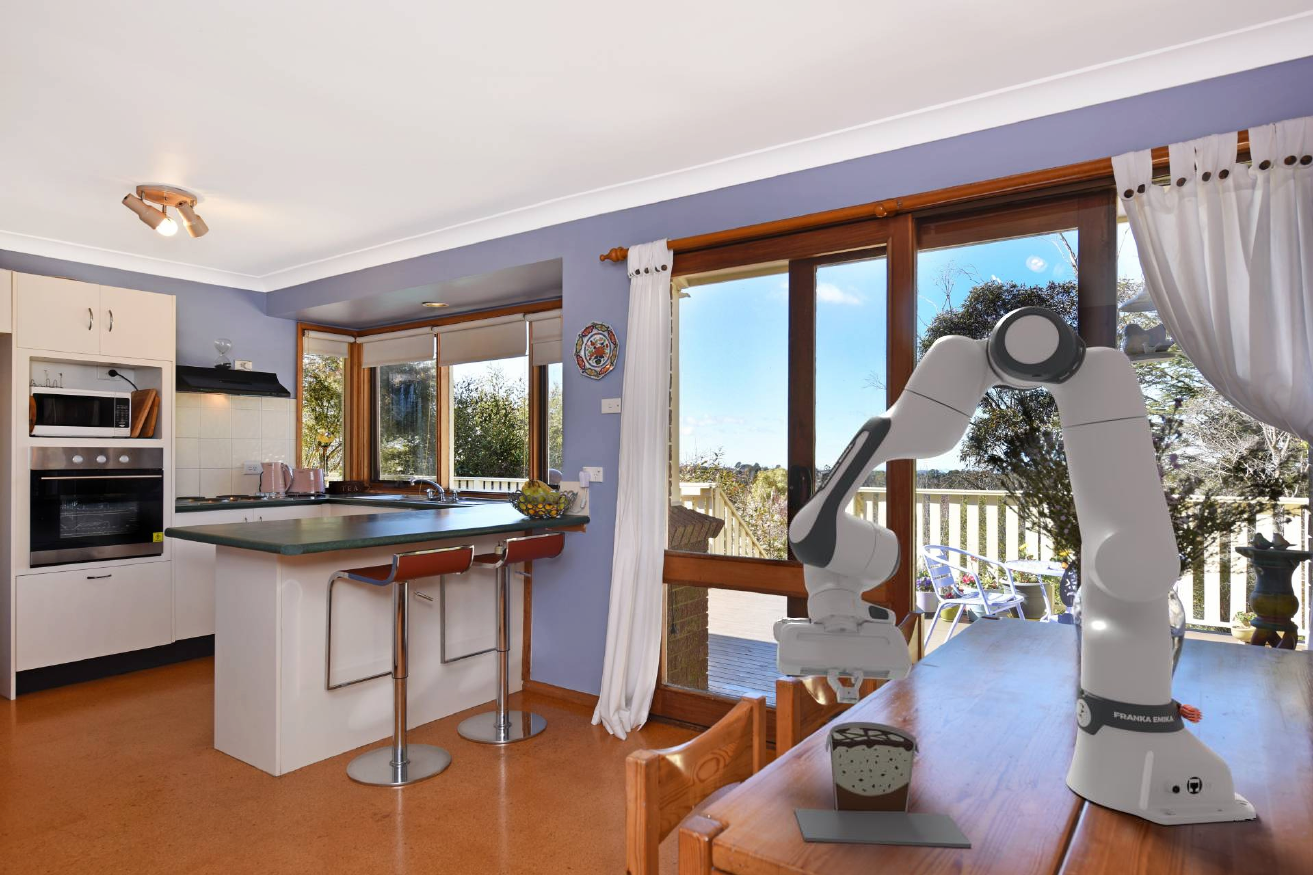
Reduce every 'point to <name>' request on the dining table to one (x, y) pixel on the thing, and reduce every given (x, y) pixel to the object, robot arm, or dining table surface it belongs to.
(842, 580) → the robot arm
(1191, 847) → the dining table surface
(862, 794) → the food container
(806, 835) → the charcoal rubber mat
